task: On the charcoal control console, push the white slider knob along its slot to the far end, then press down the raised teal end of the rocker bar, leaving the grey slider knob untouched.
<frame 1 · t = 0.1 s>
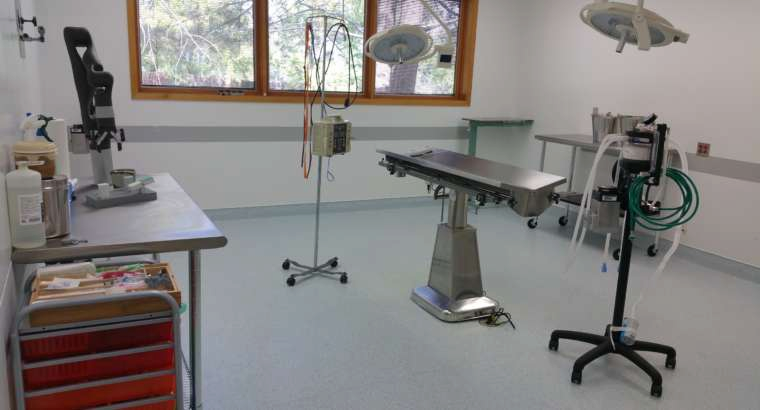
hand: (109, 152, 249), 17 cm above the table, tool pointing down, fingers open, 8 cm apart
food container: (127, 191, 249), on the table
console: (122, 200, 232), on the table
grey slider: (129, 183, 237), point 6 cm above the table, slide at 4.0 cm
rocker: (141, 183, 231), point 7 cm above the table, hinge at 15.0°
white slider: (104, 190, 222), point 6 cm above the table, slide at 0.0 cm
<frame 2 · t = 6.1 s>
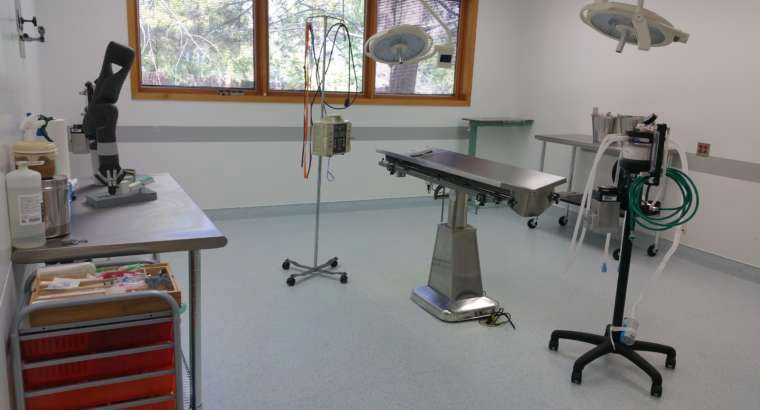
hand: (112, 194, 224), 4 cm above the table, tool pointing down, fingers closed
white slider: (124, 188, 227), point 6 cm above the table, slide at 8.1 cm, touching hand
everything else where it was.
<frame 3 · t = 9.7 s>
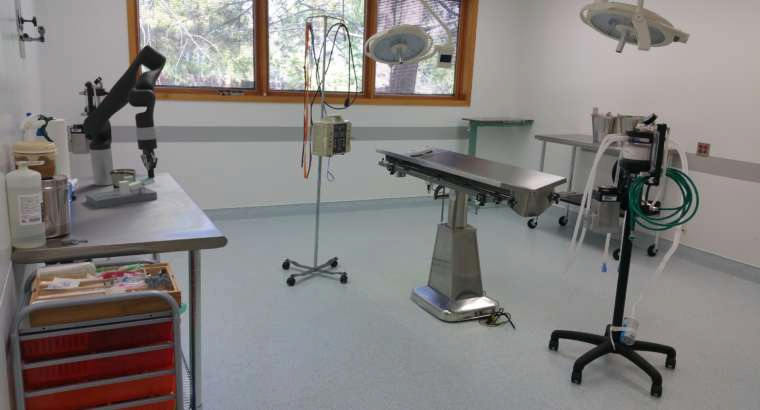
hand: (151, 177, 234), 9 cm above the table, tool pointing down, fingers closed
rocker: (141, 183, 231), point 7 cm above the table, hinge at 10.8°, touching gripper
white slider: (124, 188, 227), point 6 cm above the table, slide at 8.1 cm
everything else where it was.
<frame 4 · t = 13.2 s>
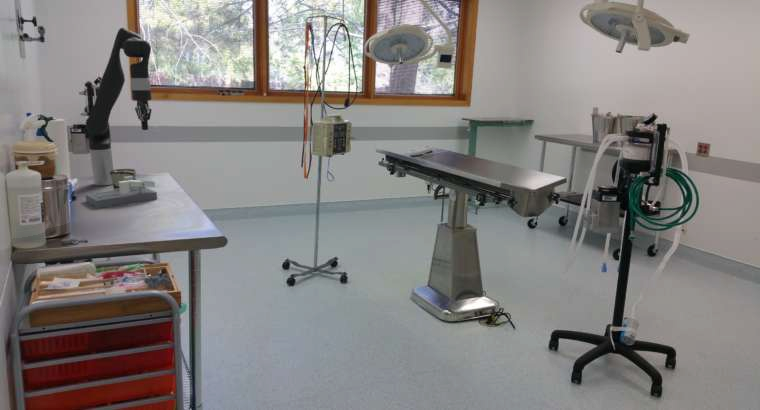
hand: (145, 129, 234), 29 cm above the table, tool pointing down, fingers closed
rocker: (141, 183, 232), point 7 cm above the table, hinge at -10.9°
everything else where it was.
at the end: white slider slide at 8.1 cm; rocker at -11° (first picture: +15°); grey slider slide at 4.0 cm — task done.
